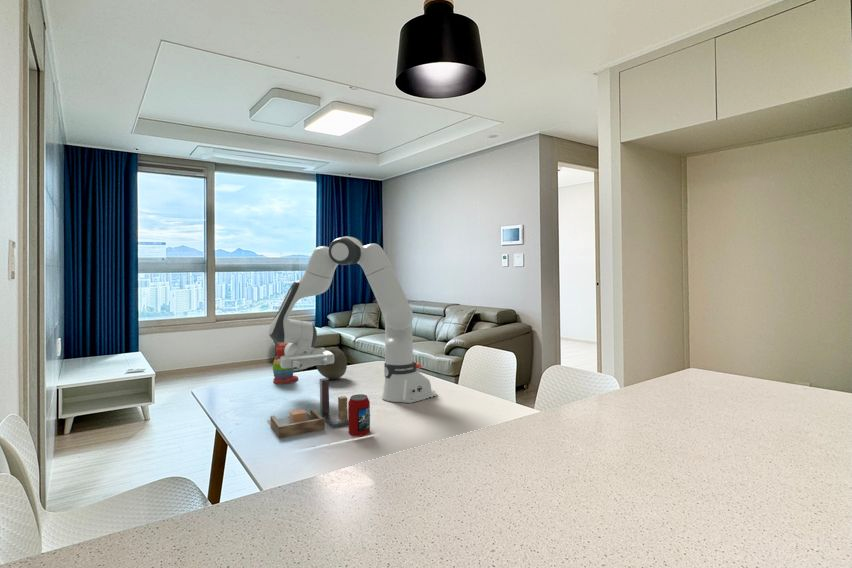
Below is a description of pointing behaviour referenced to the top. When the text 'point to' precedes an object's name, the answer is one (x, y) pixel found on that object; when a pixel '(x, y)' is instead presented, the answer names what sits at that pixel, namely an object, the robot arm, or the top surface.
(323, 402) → the hook tool
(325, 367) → the cantaloupe
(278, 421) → the wooden tray
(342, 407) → the plain rod
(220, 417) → the top surface
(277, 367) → the stacking bear
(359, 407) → the beverage can
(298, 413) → the block
